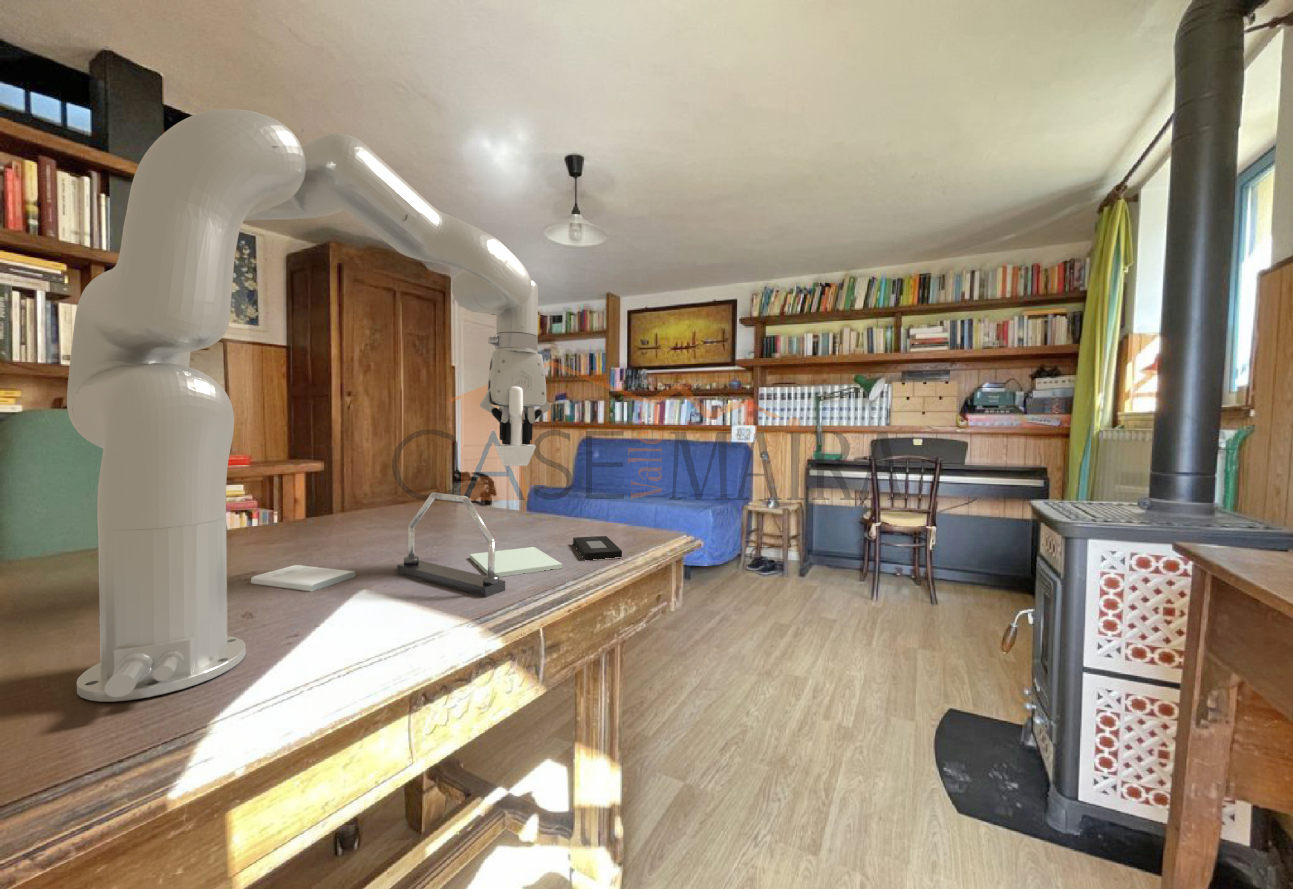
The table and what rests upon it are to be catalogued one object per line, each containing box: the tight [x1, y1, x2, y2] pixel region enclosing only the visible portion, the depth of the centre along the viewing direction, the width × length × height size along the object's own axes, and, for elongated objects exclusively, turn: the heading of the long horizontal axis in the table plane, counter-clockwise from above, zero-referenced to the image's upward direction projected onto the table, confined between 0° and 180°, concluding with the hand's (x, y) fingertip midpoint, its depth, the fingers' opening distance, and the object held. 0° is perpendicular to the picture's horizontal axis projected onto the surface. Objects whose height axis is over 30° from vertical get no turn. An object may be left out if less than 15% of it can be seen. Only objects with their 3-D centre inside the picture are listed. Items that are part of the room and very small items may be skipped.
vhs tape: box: [572, 535, 623, 561], centre depth 107 cm, size 8×14×2 cm, turn 17°
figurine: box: [494, 386, 537, 467], centre depth 95 cm, size 7×9×15 cm
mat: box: [469, 546, 563, 578], centre depth 96 cm, size 15×13×1 cm
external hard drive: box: [250, 564, 356, 593], centre depth 84 cm, size 2×8×12 cm
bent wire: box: [396, 492, 506, 598], centre depth 84 cm, size 22×4×14 cm, turn 59°
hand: (516, 443), depth 96 cm, fingers closed on figurine, 3 cm apart
